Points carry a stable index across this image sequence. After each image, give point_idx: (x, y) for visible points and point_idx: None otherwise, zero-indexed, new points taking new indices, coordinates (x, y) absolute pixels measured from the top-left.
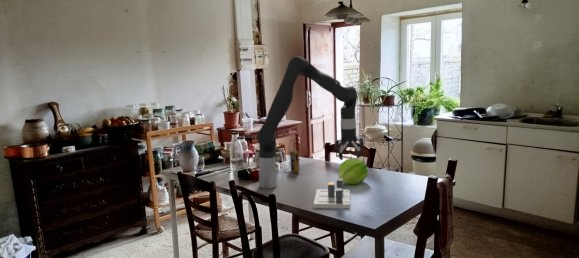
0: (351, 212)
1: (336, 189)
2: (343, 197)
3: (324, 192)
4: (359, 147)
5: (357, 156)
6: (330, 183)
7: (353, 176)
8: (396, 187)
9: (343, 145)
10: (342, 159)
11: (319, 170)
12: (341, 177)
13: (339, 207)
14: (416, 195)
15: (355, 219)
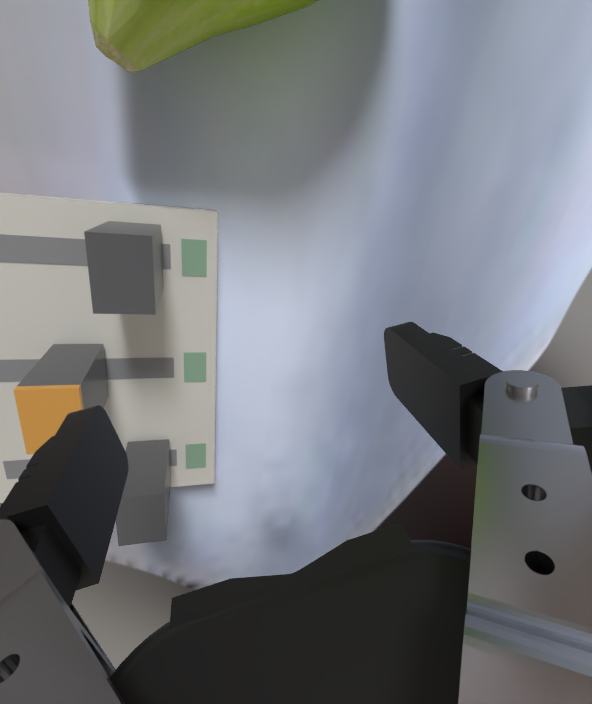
0: (220, 507)
1: (121, 524)
2: (173, 383)
3: (4, 284)
4: (588, 454)
5: (401, 392)
6: (45, 424)
7: (272, 9)
8: (557, 83)
9: (65, 690)
10: (125, 469)
11: None
12: (129, 41)
13: None
14: (582, 259)
15: (234, 565)
